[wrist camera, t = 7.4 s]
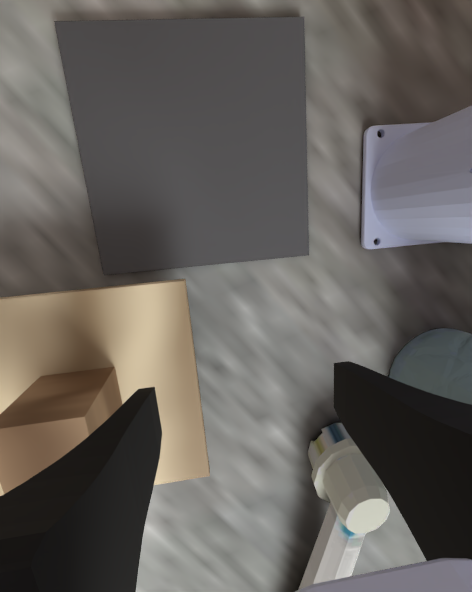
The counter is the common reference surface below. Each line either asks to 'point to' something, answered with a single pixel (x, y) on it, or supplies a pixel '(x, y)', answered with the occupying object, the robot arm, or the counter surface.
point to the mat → (190, 138)
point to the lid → (97, 374)
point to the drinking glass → (437, 364)
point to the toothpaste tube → (342, 504)
